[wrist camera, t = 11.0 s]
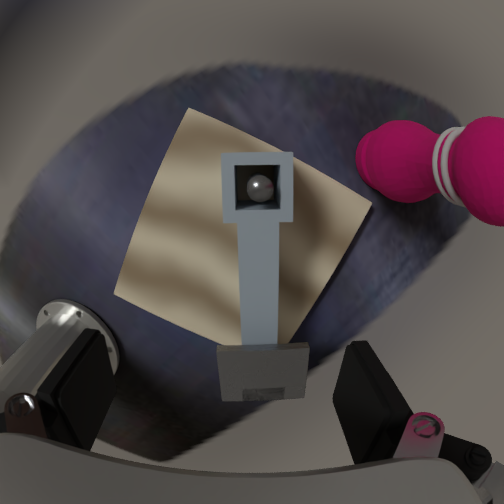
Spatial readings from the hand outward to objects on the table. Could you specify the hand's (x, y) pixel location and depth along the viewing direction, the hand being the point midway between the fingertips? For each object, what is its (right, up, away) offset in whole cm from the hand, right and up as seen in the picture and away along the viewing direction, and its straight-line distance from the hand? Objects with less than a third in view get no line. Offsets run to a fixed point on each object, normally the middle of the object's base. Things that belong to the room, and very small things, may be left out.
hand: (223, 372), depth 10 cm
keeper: (+2, -2, +21) cm, 21 cm away
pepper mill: (+14, +14, +16) cm, 25 cm away
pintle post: (+1, +11, +17) cm, 20 cm away
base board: (-1, +5, +18) cm, 19 cm away
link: (+2, +5, +17) cm, 18 cm away
